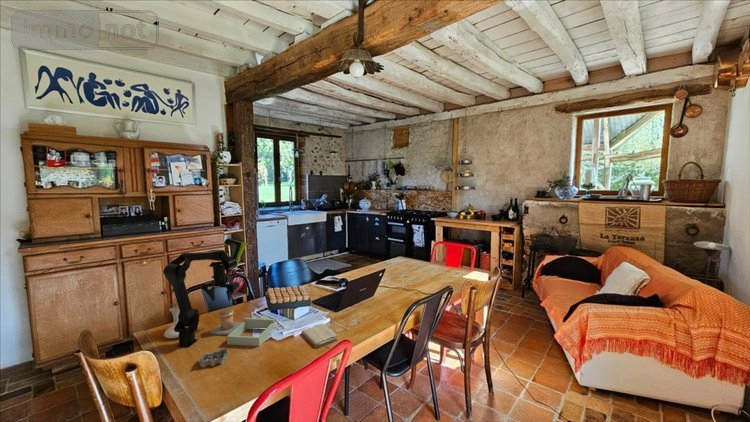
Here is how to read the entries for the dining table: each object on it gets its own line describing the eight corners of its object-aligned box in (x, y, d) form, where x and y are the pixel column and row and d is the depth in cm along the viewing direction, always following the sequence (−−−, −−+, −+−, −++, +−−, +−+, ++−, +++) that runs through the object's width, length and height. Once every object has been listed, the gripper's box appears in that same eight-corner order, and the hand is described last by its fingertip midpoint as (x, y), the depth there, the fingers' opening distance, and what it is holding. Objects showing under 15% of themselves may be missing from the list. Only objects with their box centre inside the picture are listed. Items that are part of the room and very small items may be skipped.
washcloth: (316, 349, 143) (316, 343, 142) (300, 334, 157) (300, 328, 157) (339, 341, 150) (339, 334, 150) (321, 327, 164) (321, 321, 164)
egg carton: (229, 355, 140) (228, 346, 139) (225, 365, 133) (225, 355, 132) (202, 359, 137) (202, 350, 137) (197, 369, 130) (196, 359, 130)
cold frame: (259, 346, 146) (258, 334, 145) (227, 344, 148) (226, 333, 148) (274, 329, 162) (274, 319, 161) (245, 328, 164) (245, 317, 163)
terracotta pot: (229, 330, 159) (228, 315, 158) (217, 330, 160) (215, 315, 159) (237, 324, 166) (236, 309, 165) (225, 323, 167) (223, 309, 166)
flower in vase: (178, 341, 152) (173, 291, 149) (158, 339, 154) (153, 290, 151) (198, 328, 165) (194, 282, 162) (179, 327, 167) (175, 281, 164)
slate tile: (231, 335, 157) (231, 333, 157) (209, 334, 158) (209, 332, 158) (244, 324, 168) (244, 322, 168) (224, 323, 170) (223, 321, 170)
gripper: (243, 268, 175) (245, 295, 176) (212, 268, 177) (215, 294, 179) (232, 275, 164) (234, 304, 166) (199, 274, 166) (201, 302, 168)
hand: (221, 301), depth 170 cm, fingers open, 9 cm apart
